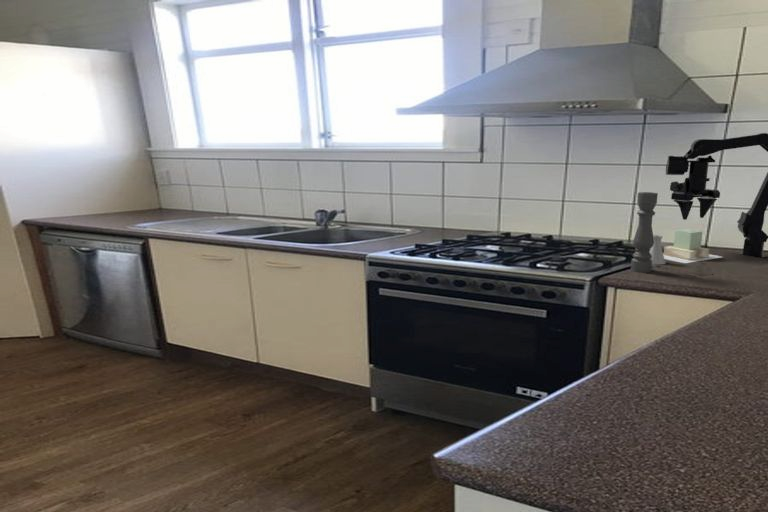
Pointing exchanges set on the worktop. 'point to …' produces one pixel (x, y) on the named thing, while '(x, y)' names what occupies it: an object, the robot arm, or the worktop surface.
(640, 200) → the candle holder
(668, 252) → the birch plinth
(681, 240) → the sage cube
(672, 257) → the pale blue-grey board
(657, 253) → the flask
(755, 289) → the worktop surface
